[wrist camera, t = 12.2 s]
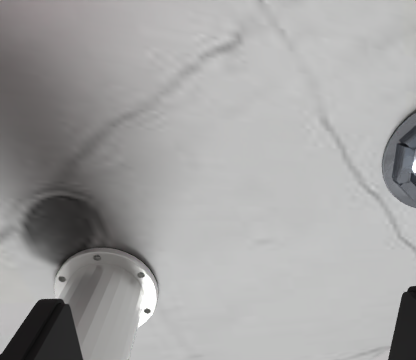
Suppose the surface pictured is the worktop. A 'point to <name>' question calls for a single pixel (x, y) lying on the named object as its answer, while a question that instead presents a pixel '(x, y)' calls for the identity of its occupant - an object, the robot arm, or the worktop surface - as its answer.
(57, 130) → the worktop surface
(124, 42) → the worktop surface
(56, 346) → the robot arm
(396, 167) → the faceted metallic bowl
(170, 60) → the worktop surface
